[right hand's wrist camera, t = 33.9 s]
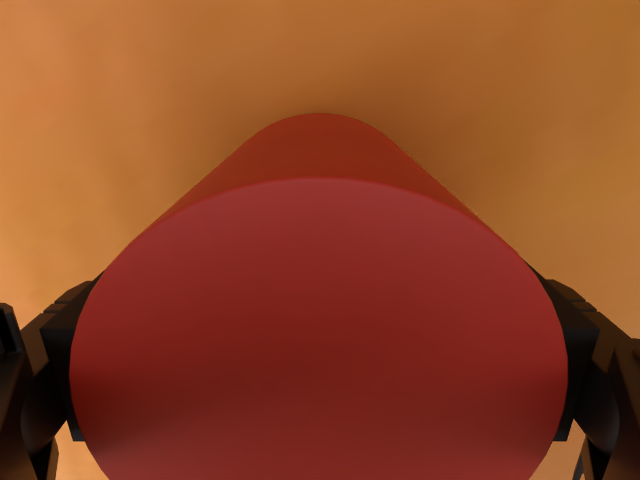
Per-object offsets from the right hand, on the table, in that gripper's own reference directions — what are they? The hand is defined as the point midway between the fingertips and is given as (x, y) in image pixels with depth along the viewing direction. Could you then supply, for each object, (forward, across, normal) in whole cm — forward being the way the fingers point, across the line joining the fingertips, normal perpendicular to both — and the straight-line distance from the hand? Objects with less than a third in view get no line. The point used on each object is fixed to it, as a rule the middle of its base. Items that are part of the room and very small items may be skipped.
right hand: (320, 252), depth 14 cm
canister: (+3, 0, 0) cm, 3 cm away
